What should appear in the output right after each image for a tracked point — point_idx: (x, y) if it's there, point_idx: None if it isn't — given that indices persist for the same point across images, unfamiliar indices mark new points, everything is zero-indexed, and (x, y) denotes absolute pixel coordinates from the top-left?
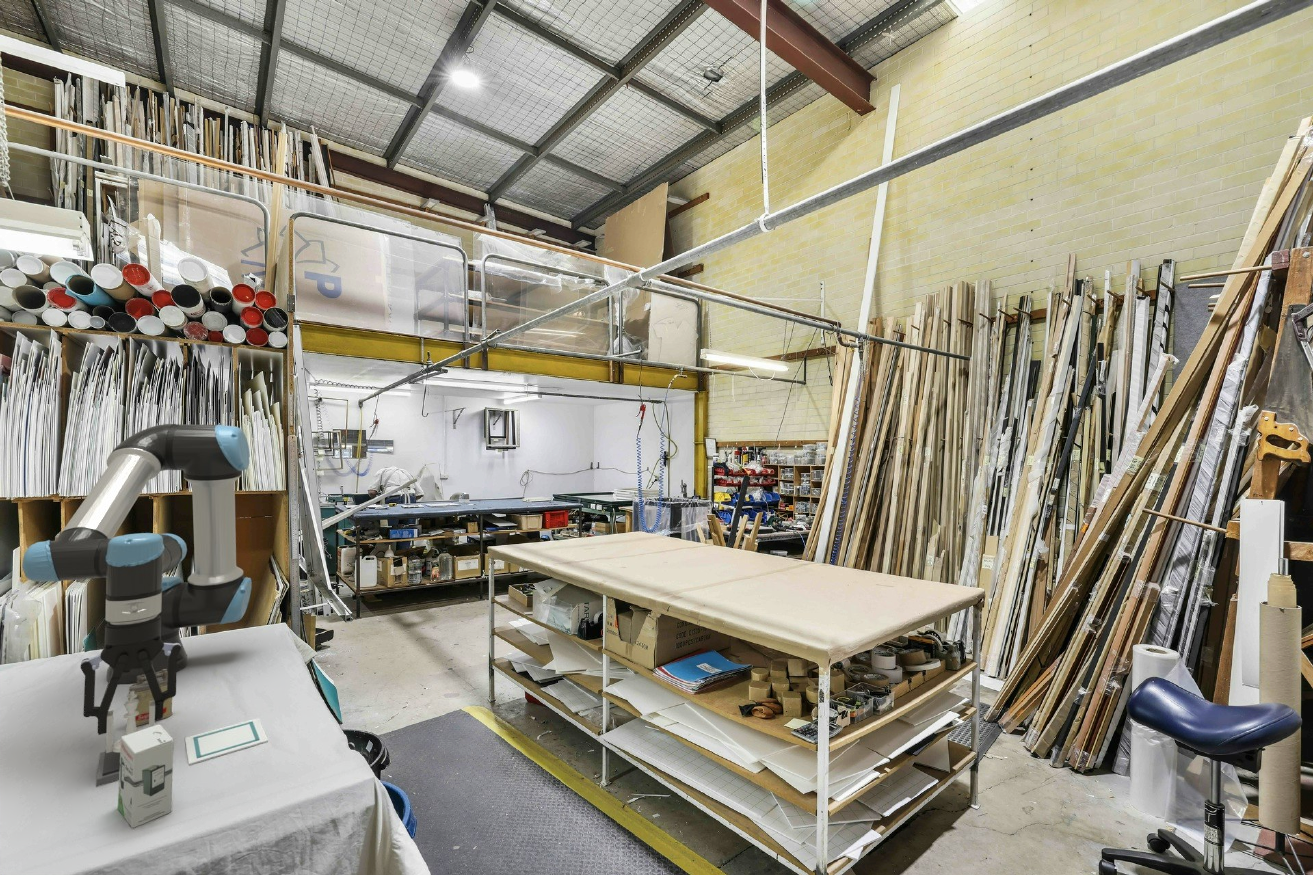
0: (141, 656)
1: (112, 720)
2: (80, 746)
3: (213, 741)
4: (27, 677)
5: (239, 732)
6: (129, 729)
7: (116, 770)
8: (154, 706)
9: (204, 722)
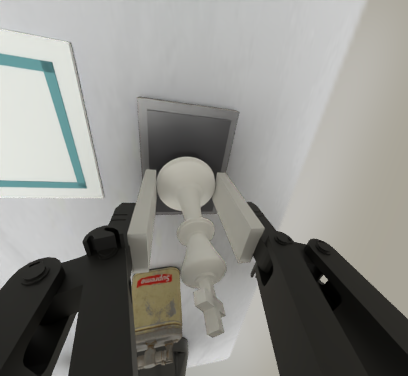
0: None
1: (244, 216)
2: (222, 250)
3: (33, 140)
4: (226, 349)
5: None
6: (194, 199)
7: (210, 118)
8: (129, 230)
9: (81, 237)
